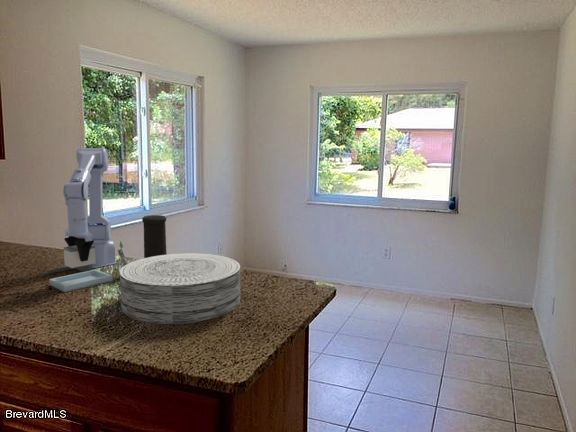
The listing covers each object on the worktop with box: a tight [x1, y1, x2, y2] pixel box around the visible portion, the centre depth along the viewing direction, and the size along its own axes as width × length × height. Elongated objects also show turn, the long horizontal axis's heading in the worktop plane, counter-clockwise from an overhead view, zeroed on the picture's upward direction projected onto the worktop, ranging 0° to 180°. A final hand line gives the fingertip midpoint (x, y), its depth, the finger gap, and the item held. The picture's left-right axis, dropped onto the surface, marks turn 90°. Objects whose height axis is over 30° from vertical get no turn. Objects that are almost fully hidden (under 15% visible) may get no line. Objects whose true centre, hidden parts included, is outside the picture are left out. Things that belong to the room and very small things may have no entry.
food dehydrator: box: [117, 240, 241, 325], centre depth 139 cm, size 38×34×18 cm
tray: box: [48, 269, 113, 293], centre depth 156 cm, size 16×11×2 cm
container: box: [141, 214, 168, 259], centre depth 173 cm, size 9×9×20 cm
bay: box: [44, 264, 93, 275], centre depth 166 cm, size 11×13×5 cm
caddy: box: [63, 245, 96, 268], centre depth 155 cm, size 8×5×6 cm, turn 139°
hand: (80, 259), depth 155 cm, fingers closed on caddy, 5 cm apart
